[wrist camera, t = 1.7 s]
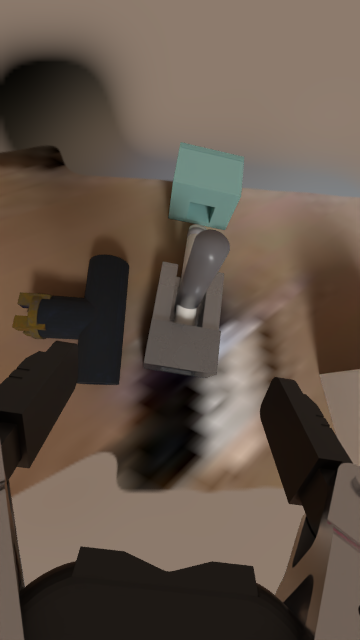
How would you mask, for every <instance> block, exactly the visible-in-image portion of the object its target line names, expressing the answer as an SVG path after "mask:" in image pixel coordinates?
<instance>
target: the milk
mask: <svg viewBox="0 0 360 640" xmlns="http://www.w3.org/2000/svg"><path fill="white" fill-rule="evenodd" d="M319 375H320V379H321V382H322V386H323V389H324V393H325V397H326V400H327V404H328V408H329V411H330V415H331V418H332V422H333V426H334V429H335V433H336V436H337V438H338V440H339V441H340V443H341V445H342V446H343V448H344V449H345V451H346V453H347V454H348V456H349V457H350V459H351V461H352V462H353V464H356V465H358V466H360V369H356V370H348V371H341V372H333V373H326V374H319Z"/></svg>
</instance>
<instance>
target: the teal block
mask: <svg viewBox="0 0 360 640" xmlns="http://www.w3.org/2000/svg"><path fill="white" fill-rule="evenodd" d="M243 165H244V157H242V156H237V155H233V154H229V153H225V152H220V151H216V150H212V149H207V148H203V147H199V146H194V145H190V144H186V143H180V148H179V154H178V160H177V164H176V169H175V174H174V179H173V186H172V194H171V202H170V209H169V217H168V218H170V219H174V220H179V221H184V222H189V223H194V224H198V225H203V226H208V227H213V228H217V229H222V230H225V229H226V227H227V225H228V223H229V221H230V218H231V216H232V214H233V212H234V210H235V208H236V206H237V204H238V202H239V199H240V197H241V190H242V177H243V167H244V166H243Z"/></svg>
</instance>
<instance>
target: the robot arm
mask: <svg viewBox="0 0 360 640" xmlns="http://www.w3.org/2000/svg"><path fill="white" fill-rule="evenodd" d="M77 379H78V345H77V344H74V343H68V342H62V341H55V342H54V343H53V344H52V346H51V347H50V348H49V349H48V350H47V351H46V352H41V351H39V352H37V353H35V354H33V355H31V356H29V357H27V358H26V359H25V360H24V361H23V362H22V363H21V364H20V365H19V366H18V367H17V369H16V370H14V371H13V372H12V373H11V374H10V375H9V378H6V379H5V380H4V381H3V382H2V383H1V384H0V640H360V466H358V465H356V464H353V462H352V461H351V459H350V457H349V456H348V454H347V453H346V451H345V449H344V448H343V446H342V445H341V443H340V441H339V440H338V438H337V436H336V435H335V433H334V432H333V430H332V428H330V427H329V426H330V425H329V424H328V422H327V420H326V419H325V418H324V416H323V414H322V412H321V411H320V409H319V408H318V406H317V405H316V404H315V403H314V402H313V401H312V400H311V399H310V398H309V397H308V396H307V395H306V394H303V393H302V391H301V389H300V388H299V386H298V384H297V383H296V381H294V380H291V379H284V378H278V377H275V378H273V379H272V381H271V383H270V386H269V388H268V390H267V393H266V395H265V397H264V399H263V402H262V404H261V408H260V418H261V422H262V425H263V428H264V431H265V434H266V437H267V440H268V443H269V446H270V449H271V452H272V455H273V458H274V461H275V464H276V467H277V470H278V473H279V476H280V479H281V482H282V485H283V488H284V491H285V494H286V496H287V500H288V503H289V504H295V505H302V506H303V508H304V510H305V514H304V515H303V517H302V519H301V522H300V526H299V529H298V532H297V536H296V539H295V542H294V546H293V549H292V552H291V556H290V559H289V562H288V566H287V569H286V572H285V574H284V577H283V579H282V581H281V583H280V585H279V587H278V589H277V591H276V593H275V595H274V594H273V593H271V592H270V591H269V590H267V589H266V588H264V587H263V586H261V585H260V584H258V583H256V580H255V574H254V569H253V566H247V565H238V564H228V563H220V562H208V563H204V564H200V565H197V566H192V567H188V568H184V569H180V570H176V571H171V572H168V571H164V570H161V569H160V568H158V567H155V566H153V565H151V564H149V563H147V562H145V561H143V560H141V559H139V558H137V557H135V556H133V555H131V554H128V553H126V552H124V551H115V550H107V549H98V548H89V547H80V550H79V554H78V557H77V560H76V561H75V562H71V563H67V564H64V565H62V566H59V567H56V568H54V569H52V570H50V571H48V572H47V573H45V574H43V575H41V576H40V577H38V578H37V579H35V580H34V581H32V582H31V583H30V584H28V585H27V586H26V587H25V585H24V578H23V572H22V565H21V559H20V553H19V547H18V540H17V533H16V526H15V519H14V512H13V504H12V497H11V490H10V483H9V478H10V477H11V475H12V473H13V472H14V470H15V469H16V467H23V468H30V466H31V465H32V463H33V461H34V459H35V458H36V456H37V454H38V452H39V451H40V449H41V447H42V445H43V444H44V442H45V440H46V438H47V437H48V435H49V433H50V431H51V429H52V428H53V426H54V424H55V422H56V421H57V419H58V417H59V415H60V414H61V412H62V410H63V408H64V407H65V405H66V403H67V401H68V400H69V398H70V396H71V394H72V393H73V391H74V389H75V386H76V383H77Z"/></svg>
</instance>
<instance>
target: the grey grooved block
mask: <svg viewBox="0 0 360 640" xmlns="http://www.w3.org/2000/svg"><path fill="white" fill-rule="evenodd" d="M177 270H178V264H173V263H168V262H163V263H162V269H161V274H160V279H159V285H158V290H157V295H156V301H155V306H154V311H153V317H152V321H151V326H150V331H149V337H148V342H147V348H146V353H145V358H144V368H145V369H151V370H158V371H164V372H170V373H176V374H183V375H189V376H195V377H202V378H208V377H211V376H214V375H217V365H218V354H219V344H220V333H221V331H219V322H220V311H221V301H222V291H223V281H224V273H220V272H217V274H216V276H215V278H214V279H213V281H212V283H211V285H210V286H209V288H208V290H207V292H206V293H205V295H204V297H203V299H202V300H201V302H200V304H199V306H198V307H197V310H196V318H195V326H191V325H185V324H179V323H174V319H175V313H176V308H175V301H176V298H177V294H178V291H179V287H180V281H181V278H180V277H176V276H177Z"/></svg>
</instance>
